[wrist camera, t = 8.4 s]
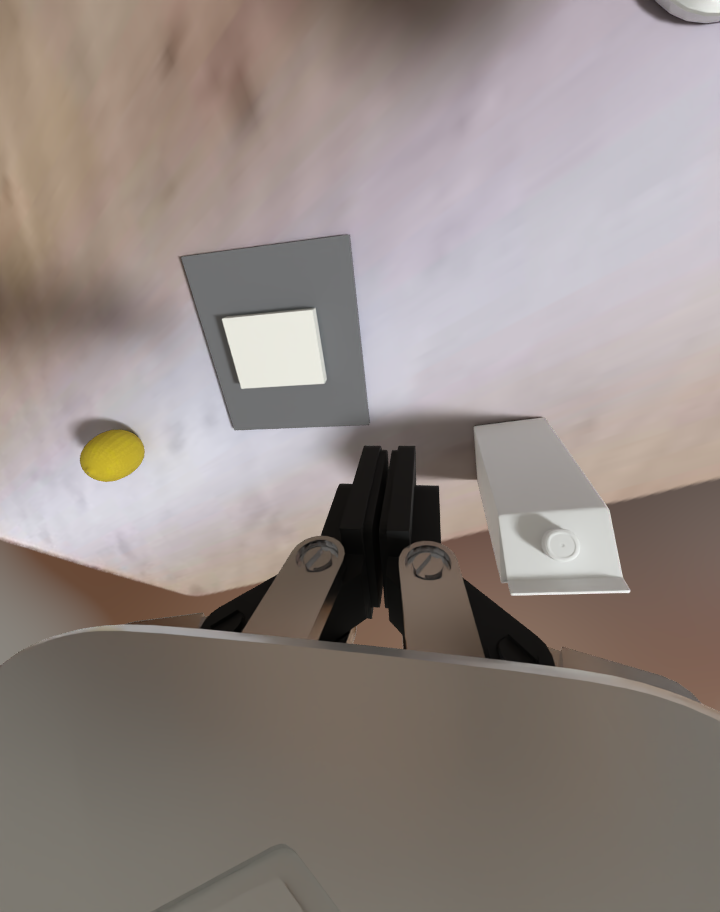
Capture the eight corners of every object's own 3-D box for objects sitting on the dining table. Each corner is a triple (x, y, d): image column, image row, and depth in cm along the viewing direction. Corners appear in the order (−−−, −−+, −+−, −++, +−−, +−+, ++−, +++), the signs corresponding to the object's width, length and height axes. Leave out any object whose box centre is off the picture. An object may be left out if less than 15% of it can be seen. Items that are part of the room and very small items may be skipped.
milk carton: (543, 474, 41) (623, 627, 25) (476, 480, 43) (511, 628, 26) (544, 416, 38) (638, 549, 21) (473, 425, 39) (509, 555, 23)
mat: (184, 256, 35) (180, 256, 34) (349, 234, 32) (348, 234, 31) (236, 428, 44) (234, 430, 43) (369, 422, 41) (369, 425, 40)
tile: (316, 307, 35) (229, 315, 36) (312, 309, 33) (221, 318, 35) (327, 378, 38) (247, 383, 40) (324, 383, 37) (241, 388, 38)
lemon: (131, 411, 45) (79, 442, 38) (166, 445, 46) (122, 480, 40) (107, 432, 47) (53, 465, 40) (141, 464, 49) (96, 501, 42)
